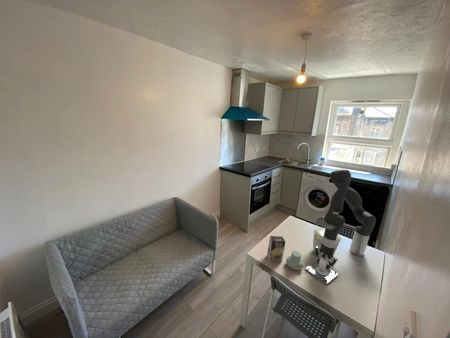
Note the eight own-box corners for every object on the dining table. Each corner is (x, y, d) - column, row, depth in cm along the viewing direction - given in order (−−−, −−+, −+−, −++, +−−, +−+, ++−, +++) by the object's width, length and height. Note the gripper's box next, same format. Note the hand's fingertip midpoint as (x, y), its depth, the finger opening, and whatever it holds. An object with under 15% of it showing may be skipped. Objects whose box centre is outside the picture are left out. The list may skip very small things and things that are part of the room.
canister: (329, 247, 151) (335, 223, 145) (340, 264, 133) (347, 238, 128) (306, 244, 152) (311, 221, 147) (314, 260, 135) (320, 234, 129)
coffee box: (269, 261, 131) (272, 241, 127) (266, 255, 137) (269, 235, 133) (282, 262, 132) (285, 241, 127) (279, 255, 138) (282, 236, 134)
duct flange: (317, 262, 134) (317, 259, 133) (337, 275, 123) (338, 272, 122) (305, 269, 126) (306, 267, 125) (326, 285, 115) (327, 282, 114)
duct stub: (315, 267, 124) (318, 255, 122) (320, 264, 127) (323, 252, 125) (324, 273, 120) (327, 261, 117) (328, 269, 123) (331, 258, 121)
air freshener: (298, 261, 133) (300, 249, 131) (304, 270, 125) (307, 257, 123) (283, 262, 131) (285, 249, 129) (289, 271, 124) (291, 258, 121)
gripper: (314, 239, 122) (309, 261, 127) (337, 252, 111) (331, 276, 115) (320, 235, 126) (315, 257, 131) (343, 248, 115) (337, 271, 120)
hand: (322, 266), depth 123 cm, fingers closed on duct stub, 5 cm apart
